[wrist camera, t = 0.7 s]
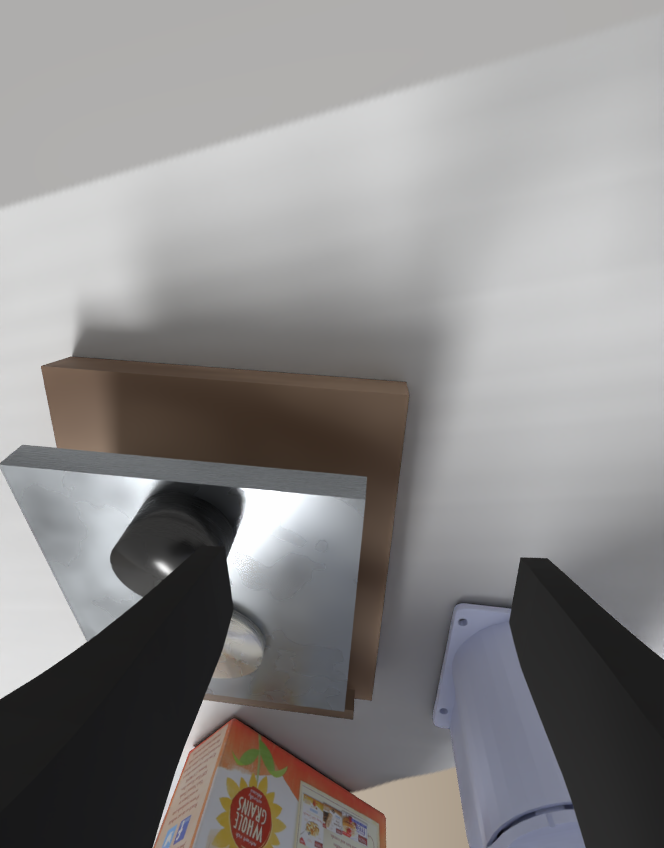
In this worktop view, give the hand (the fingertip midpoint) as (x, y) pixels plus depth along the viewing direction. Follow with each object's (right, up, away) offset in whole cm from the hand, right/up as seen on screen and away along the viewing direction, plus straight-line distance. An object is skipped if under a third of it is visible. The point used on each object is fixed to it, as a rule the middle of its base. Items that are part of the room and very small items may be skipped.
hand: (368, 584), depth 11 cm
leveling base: (-6, -2, +13) cm, 14 cm away
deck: (-6, -4, +9) cm, 12 cm away
